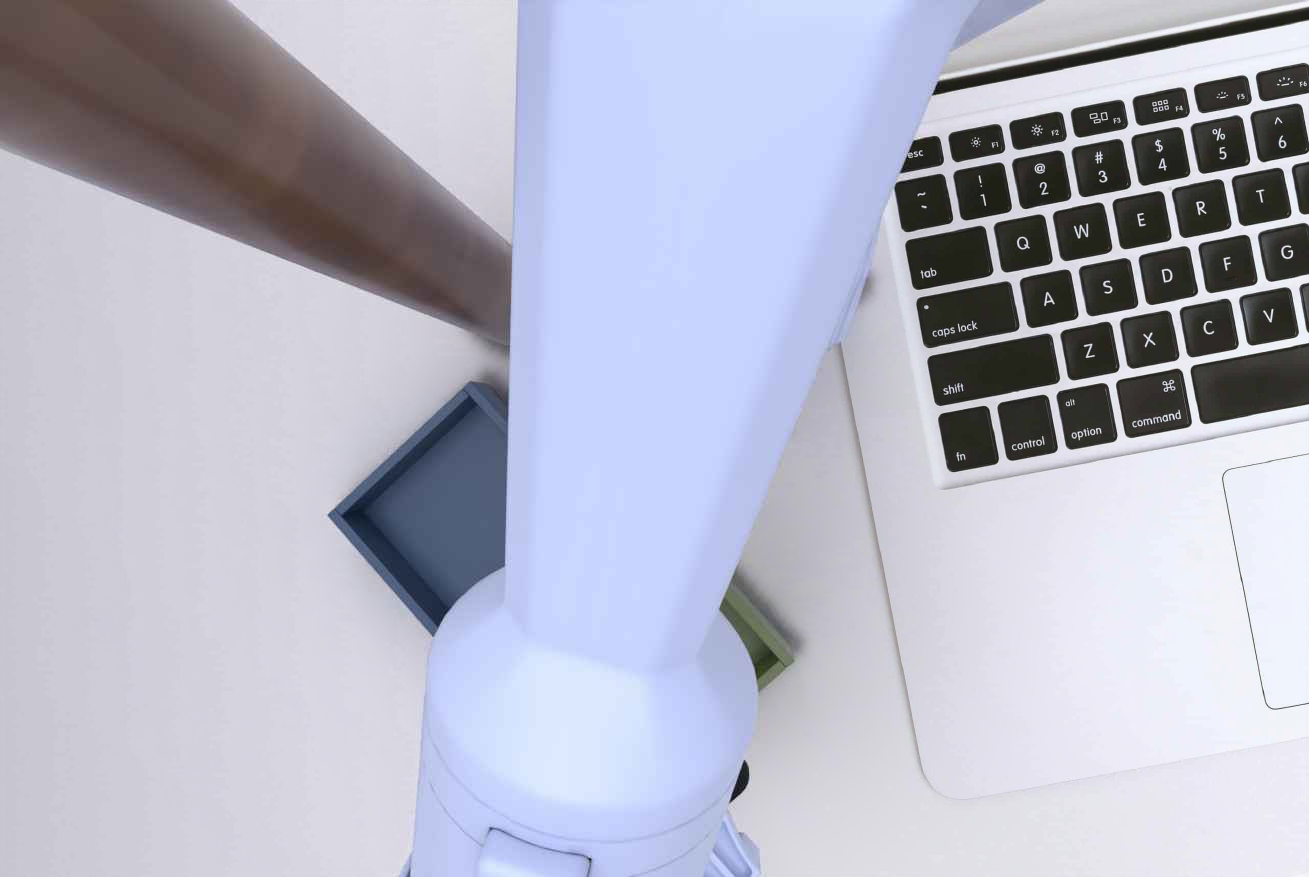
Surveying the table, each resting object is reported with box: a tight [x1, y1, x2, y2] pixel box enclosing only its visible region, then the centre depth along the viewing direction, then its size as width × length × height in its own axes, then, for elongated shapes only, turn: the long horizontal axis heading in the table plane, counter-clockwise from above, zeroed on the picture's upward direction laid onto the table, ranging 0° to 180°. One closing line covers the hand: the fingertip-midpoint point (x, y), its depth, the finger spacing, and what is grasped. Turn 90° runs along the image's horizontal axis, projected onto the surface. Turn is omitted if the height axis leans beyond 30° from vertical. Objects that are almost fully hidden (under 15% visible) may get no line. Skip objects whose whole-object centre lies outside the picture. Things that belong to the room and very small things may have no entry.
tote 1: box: [326, 380, 509, 638], centre depth 49 cm, size 11×11×4 cm
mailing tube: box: [0, 0, 512, 347], centre depth 27 cm, size 5×5×48 cm
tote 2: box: [719, 579, 795, 694], centre depth 49 cm, size 11×11×4 cm
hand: (638, 676), depth 42 cm, fingers closed on pill bottle, 5 cm apart
